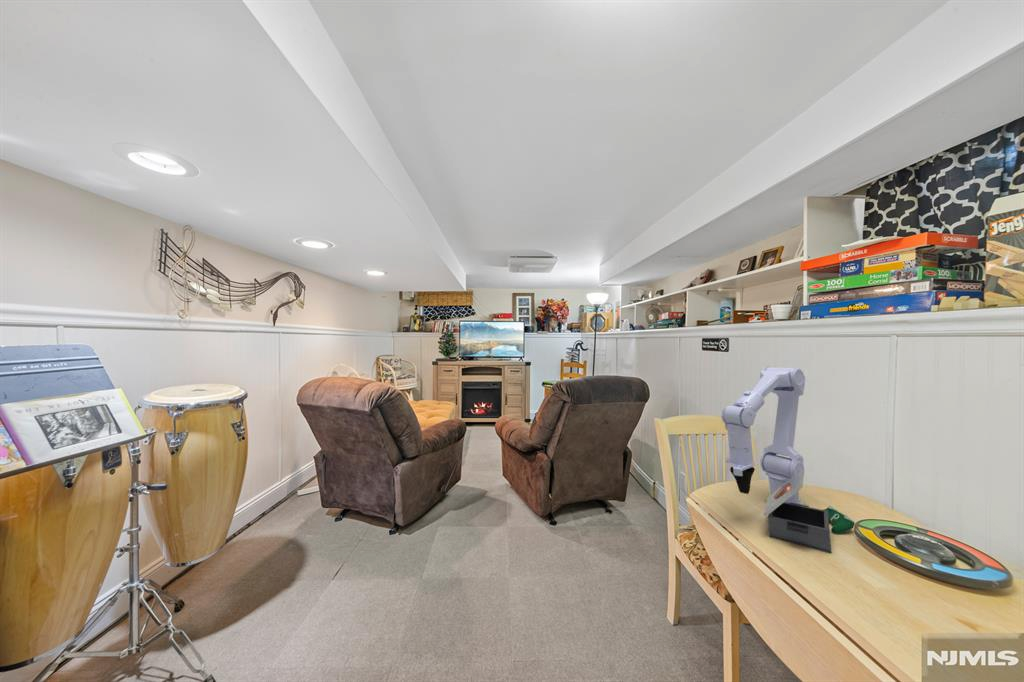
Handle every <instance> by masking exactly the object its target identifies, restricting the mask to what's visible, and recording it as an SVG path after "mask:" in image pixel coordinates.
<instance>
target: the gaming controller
mask: <svg viewBox="0 0 1024 682" xmlns="http://www.w3.org/2000/svg"><path fill="white" fill-rule="evenodd" d="M823 510H825V511H828V517H829V523H831V524H832V525H833V526H832V527H831V528H830V532H832V533H833V534H834V535H835V534H842V533H846V532H849V531H851V530H853V528H854V526H855V521H854V520H853V519H852V518H851V517H850V516H849V515H846V514H843V513H842V512H840V511H838V510H837V509H836V508H835V507H834V506H831V505H829V506H828V507H827V508H825V509H823Z"/></svg>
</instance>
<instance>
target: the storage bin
mask: <svg viewBox="0 0 1024 682" xmlns="http://www.w3.org/2000/svg"><path fill="white" fill-rule="evenodd" d="M767 521H768V523H767V524H768V531H769V532H768V533H769V538H772V539H776V540H779V539H780V541H783V542H788V543H791V544H794V545H799V546H802V547H806V548H809V549H810V548H811V549H814V550H817V551H821V552H826V553H829V554H832V544H831V543H832V541H831V528H830V522H829V517H828V511H825V510H824V509H819V508H815V507H810V505H805V504H802V505H801V504H796V503H791V502H790V503H786V502H784V503H782V504H781V505H780V506H779V507H777V508H776V509H775V510H774V511H772V512H771V513H770V514H769V515H767Z"/></svg>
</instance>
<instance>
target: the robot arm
mask: <svg viewBox="0 0 1024 682" xmlns="http://www.w3.org/2000/svg"><path fill="white" fill-rule="evenodd" d="M759 376H760V379H759V380H758V382H757V383H756V385H754V387H753V388H752V390H746V391H744V392H743V394H741V396H740V397H739V398H738V399H737V400H736V401H735V402H734V403H733V404H732V405H727V406H725V407H724V408H723V410H722V412H721V420H722V422H723V423H724V428H725V430H727V437H728V438H727V439H728V450H729V457H728V458H726V459H725V463H727V464H728V463H729V464H730V465H731V467H730V469H729V471H730V473H731V474H732V475H733V477H734V479H735V482H736V486H737V487H738V490H739V492H740V494H744V495H745V494H746V495H748V494H749V492H750V491H751V490H750V489H751V482H752V477H753V475H754V472H755V470H756V469H755V461H754V456H753V455H754V454H753V444H752V443H753V442H752V435H751V433H752V432H751V426H753V425H754V423H755V418H756V416H757V414H756V413H758V412H759V410H760V409H761V408H762V407H763V406H764V405H765V397H767V396H768V395H770V393H773V394H775V395H776V396H777V397H778V400H777V407H776V416H775V424H774V433H773V440H772V444H770V445H768V446H766V447H764V448H763V452H762V455H761V456H760V460H759V464H760V467H761V470H762V471H763V472H765V475H766V476H767V477H768V485H769V495H771V494H772V493H773V492H774V491H776V490H777V489H778V488H779V487H780V486H782V485H783V484H784V483H785V482H786V481H788V480H789V479H790V478H791V477H792V476H794V475H795V474H796V473H797V472H798V471H800V470H802V471H804V472H805V467H804V457H803V456H802V455H801V454H800V453H799V452H798V451H797V450H796V449H795V448H794V446H795V445H794V444H795V436H796V428H797V426H796V425H797V419H798V418H797V416H798V409H799V400H800V398H799V397H801V396H803V395H804V393H805V383H806V376H805V374H804V372H803V370H802V369H801V368H800V367H772V366H771V367H770V366H765V367H764V368H762V370H761V372H760V374H759ZM799 491H800V490H799ZM799 491H797V492H796V493H795V494H794V495H792V496H791V497H790V498H789V499H787V500H786V501H785V502H786V503H790V502H791V503H796V504H801V505H803V499H802V500H801V499H800V492H799Z"/></svg>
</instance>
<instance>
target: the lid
mask: <svg viewBox="0 0 1024 682" xmlns="http://www.w3.org/2000/svg"><path fill="white" fill-rule="evenodd" d="M804 475H805V470H804V471H802V470H800V471H798V472H797V473H796V474H795V475H794V476H792V477H791V478H790V479H789V480H788V481H786V482H785V483H784V484H783V485H782V486H780V487H779V488H778V489H777V490H776V491H774V492H773V493H772V494H771V495H770V494H769V495H768V496H767V500H766V504H765V507H764V509H763V515H764V516H765V517H768V515H769V514H770V513H771V512H772V511H774V510H775V509H776V508H777V507H779V506H780V505H781V504H782V503H784V502H785V501H786V500H787V499H789V498H790V497H791V496H792V495H794V494H795V493H796V492H797V491H800V490H801V489H802V488H803V487H804Z"/></svg>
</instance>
